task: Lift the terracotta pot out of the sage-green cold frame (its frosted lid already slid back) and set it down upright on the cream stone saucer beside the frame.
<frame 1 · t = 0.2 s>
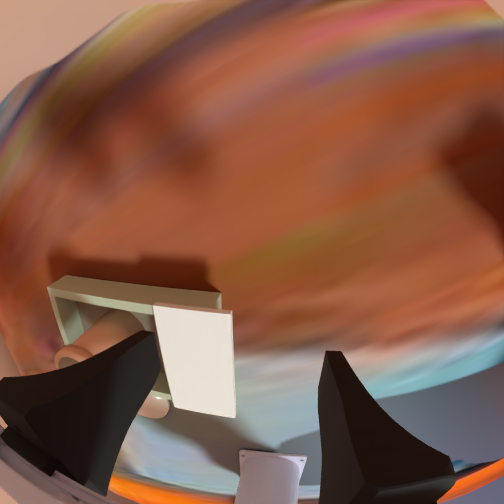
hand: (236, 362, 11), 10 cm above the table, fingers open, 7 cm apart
saucer: (141, 394, 27), on the table
cold frame: (139, 332, 24), on the table
pot: (124, 331, 24), resting on cold frame
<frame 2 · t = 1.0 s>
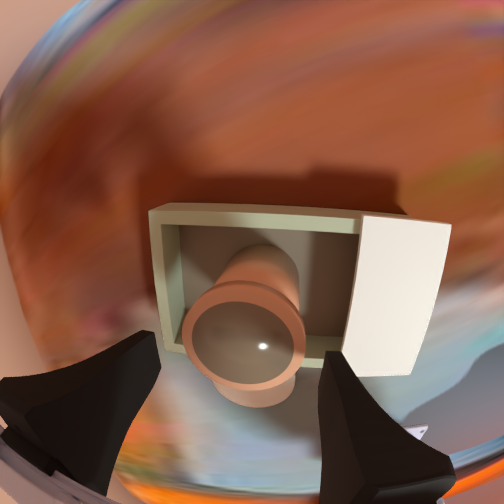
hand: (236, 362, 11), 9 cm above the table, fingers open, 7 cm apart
saucer: (253, 375, 23), on the table
cold frame: (284, 279, 19), on the table
pot: (262, 280, 19), resting on cold frame
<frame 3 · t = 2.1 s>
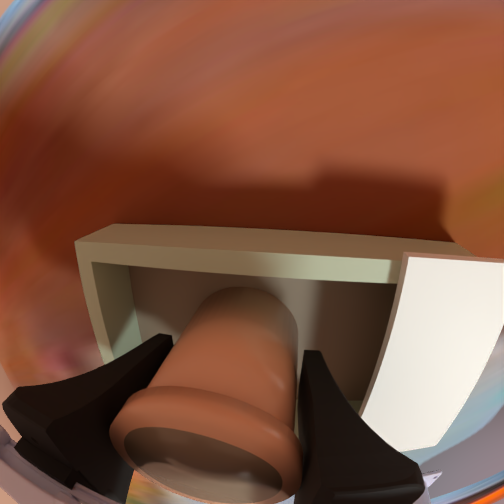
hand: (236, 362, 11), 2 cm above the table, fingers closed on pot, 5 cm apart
cold frame: (277, 333, 13), on the table
pot: (244, 334, 13), resting on cold frame, touching gripper
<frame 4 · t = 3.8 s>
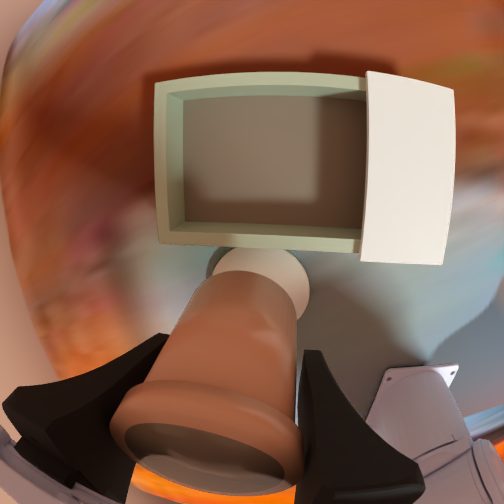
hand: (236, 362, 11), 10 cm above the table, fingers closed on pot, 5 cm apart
saucer: (260, 288, 21), on the table
cold frame: (293, 159, 17), on the table
pot: (242, 318, 13), point 7 cm above the table, touching gripper
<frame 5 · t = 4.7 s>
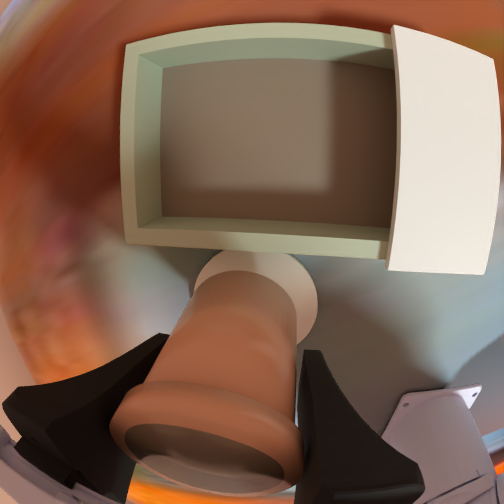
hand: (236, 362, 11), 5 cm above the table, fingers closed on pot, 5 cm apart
saucer: (255, 301, 16), on the table
cold frame: (298, 137, 13), on the table
pot: (242, 318, 13), point 3 cm above the table, touching gripper
when the fingers open (4 cm above the table, at t = 5.6 s): pot stays where it is, resting on saucer.
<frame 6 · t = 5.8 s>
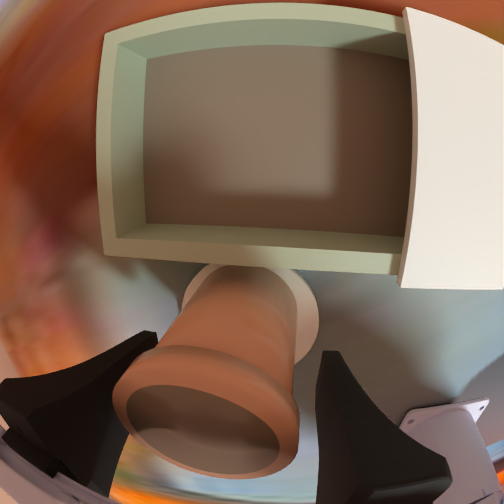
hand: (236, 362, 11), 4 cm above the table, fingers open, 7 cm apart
saucer: (250, 317, 15), on the table
cold frame: (298, 133, 12), on the table
pot: (245, 311, 14), point 1 cm above the table, touching saucer
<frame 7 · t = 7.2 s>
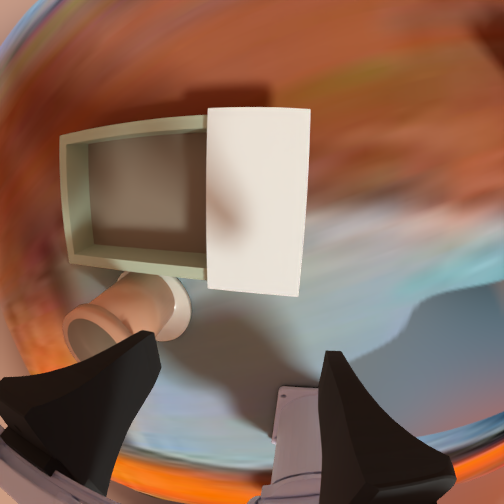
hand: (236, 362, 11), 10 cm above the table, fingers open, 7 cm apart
saucer: (152, 302, 23), on the table
cold frame: (167, 193, 20), on the table
pot: (147, 297, 22), point 1 cm above the table, touching saucer
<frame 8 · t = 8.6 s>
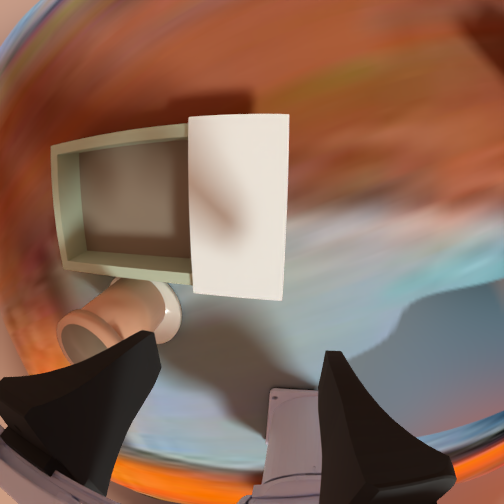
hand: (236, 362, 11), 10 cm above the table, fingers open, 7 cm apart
saucer: (144, 306, 23), on the table
cold frame: (155, 200, 20), on the table
pot: (138, 302, 22), point 1 cm above the table, touching saucer
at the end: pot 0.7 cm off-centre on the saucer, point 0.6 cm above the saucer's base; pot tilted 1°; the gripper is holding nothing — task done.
